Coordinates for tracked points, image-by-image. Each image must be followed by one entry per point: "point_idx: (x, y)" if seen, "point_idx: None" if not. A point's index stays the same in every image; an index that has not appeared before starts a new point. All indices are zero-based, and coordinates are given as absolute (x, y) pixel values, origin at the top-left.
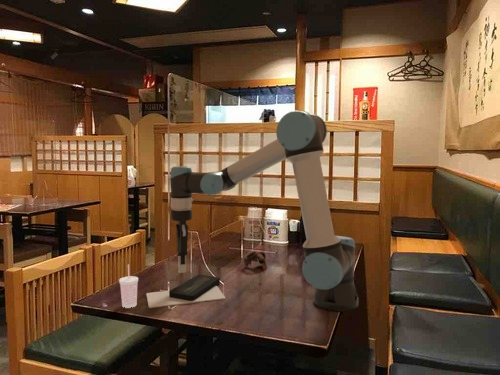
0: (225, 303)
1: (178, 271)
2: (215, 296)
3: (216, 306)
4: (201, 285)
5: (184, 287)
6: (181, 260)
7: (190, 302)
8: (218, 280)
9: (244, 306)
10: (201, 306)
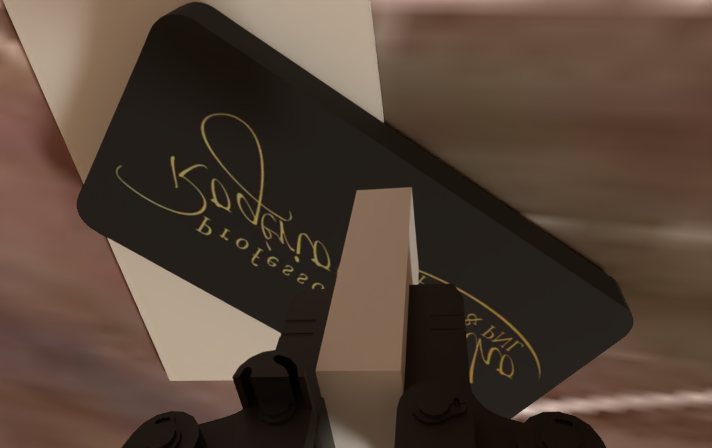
0: (104, 361)
1: (404, 190)
2: (195, 337)
3: (52, 313)
4: None
5: (280, 171)
6: (278, 344)
7: (83, 175)
8: None
9: (71, 426)
10: (38, 235)
